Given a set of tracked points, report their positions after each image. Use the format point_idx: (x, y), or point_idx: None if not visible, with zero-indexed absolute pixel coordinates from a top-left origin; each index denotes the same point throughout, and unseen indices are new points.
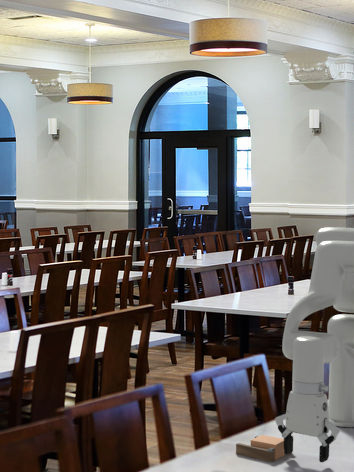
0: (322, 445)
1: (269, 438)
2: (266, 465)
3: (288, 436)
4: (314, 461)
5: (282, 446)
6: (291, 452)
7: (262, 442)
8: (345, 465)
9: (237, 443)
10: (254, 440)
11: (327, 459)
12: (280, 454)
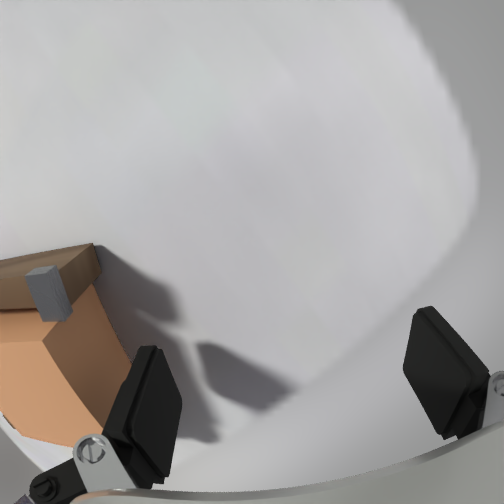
0: (456, 425)
1: (7, 381)
2: (180, 441)
3: (149, 480)
4: (300, 258)
5: (88, 368)
6: (92, 253)
7: (63, 445)
8: (466, 184)
9: (9, 423)
10: (30, 436)
11: (429, 307)
12: (115, 359)
